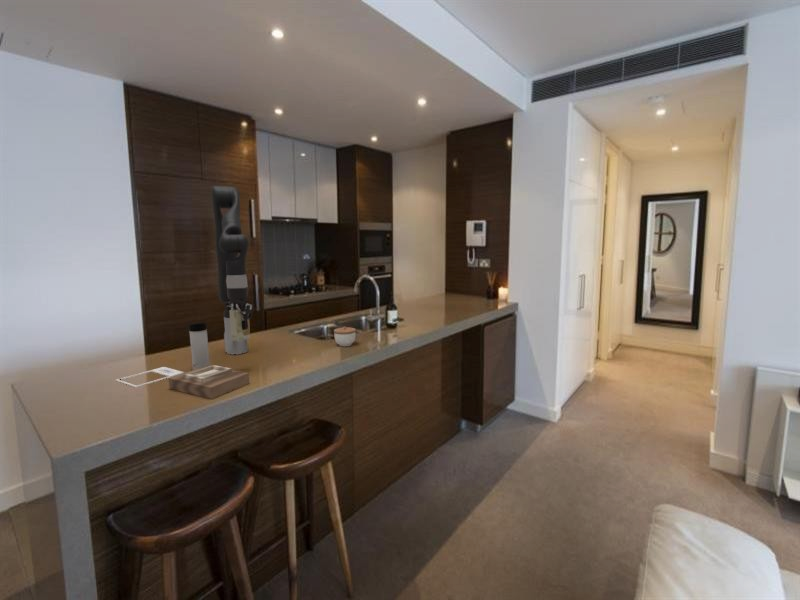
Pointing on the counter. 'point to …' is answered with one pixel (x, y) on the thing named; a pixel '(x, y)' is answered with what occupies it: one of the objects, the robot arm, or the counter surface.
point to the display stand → (209, 381)
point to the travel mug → (199, 345)
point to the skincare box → (238, 326)
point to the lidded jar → (344, 336)
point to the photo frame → (162, 371)
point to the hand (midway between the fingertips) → (240, 328)
